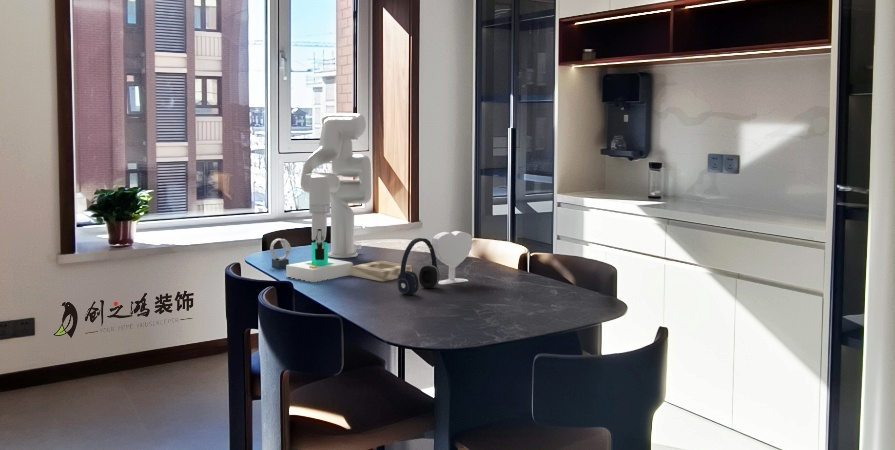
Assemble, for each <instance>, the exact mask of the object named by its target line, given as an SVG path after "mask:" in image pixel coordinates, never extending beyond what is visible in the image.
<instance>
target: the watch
mask: <svg viewBox="0 0 895 450" xmlns="http://www.w3.org/2000/svg"><path fill="white" fill-rule="evenodd" d="M278 241H280V246H281V247H282V248H283V249H284V250H285V254H284V255H283V256H281V257H278V255H277V254H276V252H275V249H274V246H275V244H276V243H277V242H278ZM291 250H292V247H291V243H290V242H289V241H288V240H287V239H285V238H275V239H274V240H272V241H271V243H270V246H269V251H270V254H271V256H272V257H273V258H271V267H272V268H274V269H275V268H276V269H278V268H280V269H286V268H285V267H286V265H289V264H290V263H289V262H290V260H289V259H288V257H289V256H290V253H291Z"/></svg>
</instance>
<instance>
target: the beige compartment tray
mask: <svg viewBox="0 0 895 450" xmlns="http://www.w3.org/2000/svg"><path fill="white" fill-rule="evenodd" d="M400 270H401V263H395V262H390V261H385V260H375V261H372V262H367V263H361V264H356V265H353V266H351V275H350V277H351V276H352V277H356V278H362V279H368V280H373V281H377V282H387V281H390V280H391V281H392V280H397V279H398V276H399V274H400ZM405 271H411V272H413V265H411V264H410V265H409V264H406V269H405Z"/></svg>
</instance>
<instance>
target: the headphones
mask: <svg viewBox="0 0 895 450" xmlns="http://www.w3.org/2000/svg"><path fill="white" fill-rule="evenodd" d="M420 242H423V243H425V245H426V246H427V248H428V249H429V253H430V257H431V264H430V265H429V264H428V265H424V266H422V267H421V268H420V271H419V275H417V274H416V272H413V271H412V272H411V271H405V269H406V265H407V261H408V258H409V255H410V253H411V251H412V249H413V247H414V246H415V245H416V244H417V243H420ZM400 264H401V270H400V274H399V276H398V278H397V288H398V292H400V293H401V294H403V295H405V296H412V295H415V294H416V293H418V292H417V291H419V285H420V286H421V287H423V288H426V289H434V288H436V287H437V286H438V285H439V284H438V282H439V281H440V271H439V269H438V264H437V257H436V256H435V251H434V248H433V246H432V242H431V241H430V240H429V239H428V238H423V237H418V238H417V237H416V238H414V239H412V240H411V241H410V242H409V243H408V244H407V246H406V248H405V250H404V253H403V255H402V259H401V263H400Z"/></svg>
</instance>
